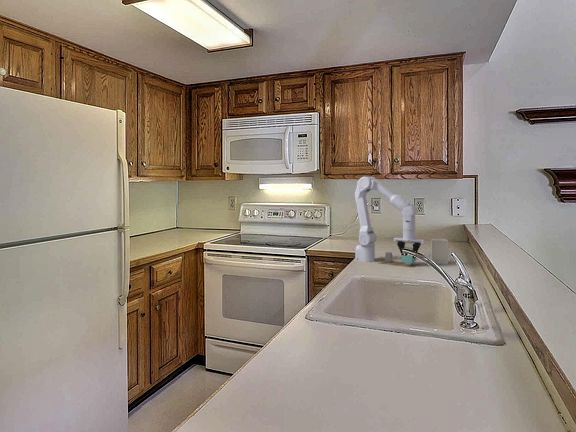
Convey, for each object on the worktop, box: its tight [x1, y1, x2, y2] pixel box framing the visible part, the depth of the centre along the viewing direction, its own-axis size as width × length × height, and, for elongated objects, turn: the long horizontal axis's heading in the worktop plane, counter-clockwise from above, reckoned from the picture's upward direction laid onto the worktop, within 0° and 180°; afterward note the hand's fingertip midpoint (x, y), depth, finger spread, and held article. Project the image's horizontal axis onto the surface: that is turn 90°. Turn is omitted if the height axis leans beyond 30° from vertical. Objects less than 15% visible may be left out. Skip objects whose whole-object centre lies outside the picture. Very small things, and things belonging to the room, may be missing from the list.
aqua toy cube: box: [400, 246, 417, 264], centre depth 191 cm, size 5×5×7 cm
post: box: [384, 251, 393, 263], centre depth 197 cm, size 3×3×5 cm
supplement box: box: [429, 238, 449, 265], centre depth 195 cm, size 7×7×13 cm
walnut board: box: [377, 259, 420, 269], centre depth 194 cm, size 18×9×1 cm, turn 55°
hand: (408, 257), depth 191 cm, fingers closed on aqua toy cube, 5 cm apart
